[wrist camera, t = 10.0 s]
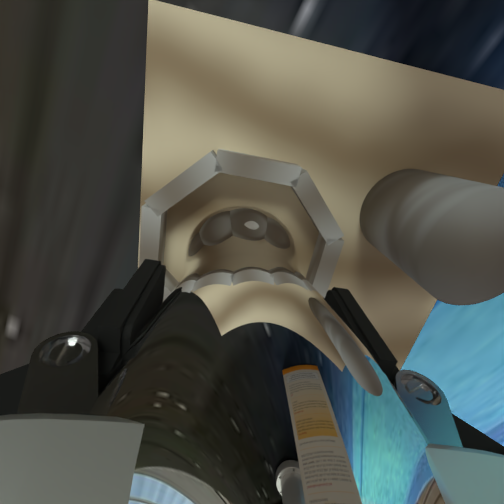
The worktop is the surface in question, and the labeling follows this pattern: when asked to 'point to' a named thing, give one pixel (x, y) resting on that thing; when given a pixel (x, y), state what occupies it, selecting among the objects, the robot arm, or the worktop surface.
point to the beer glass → (262, 387)
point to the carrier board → (325, 164)
